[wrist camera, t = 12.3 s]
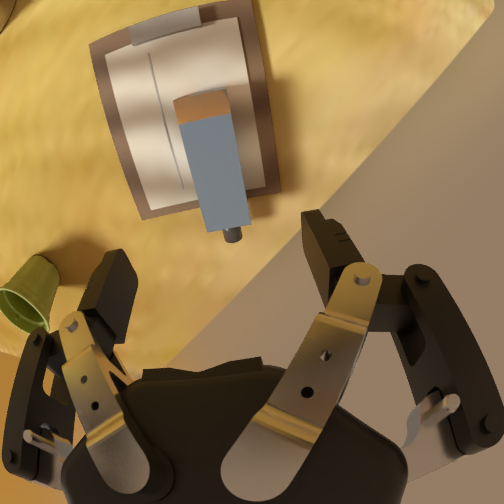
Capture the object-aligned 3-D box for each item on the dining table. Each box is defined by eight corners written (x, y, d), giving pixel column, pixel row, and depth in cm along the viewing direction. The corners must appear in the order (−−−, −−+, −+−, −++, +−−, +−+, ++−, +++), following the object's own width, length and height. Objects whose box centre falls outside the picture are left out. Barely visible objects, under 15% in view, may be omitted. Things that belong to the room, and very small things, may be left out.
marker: (180, 96, 20) (172, 100, 17) (225, 86, 20) (226, 88, 17) (214, 230, 29) (213, 253, 26) (251, 223, 29) (255, 245, 26)
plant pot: (78, 294, 34) (60, 341, 27) (36, 292, 33) (16, 333, 26) (55, 243, 28) (26, 290, 22) (12, 246, 28) (-16, 287, 21)
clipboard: (91, 44, 16) (83, 43, 14) (250, -1, 15) (251, -6, 14) (143, 217, 28) (139, 226, 27) (280, 189, 28) (283, 197, 26)
